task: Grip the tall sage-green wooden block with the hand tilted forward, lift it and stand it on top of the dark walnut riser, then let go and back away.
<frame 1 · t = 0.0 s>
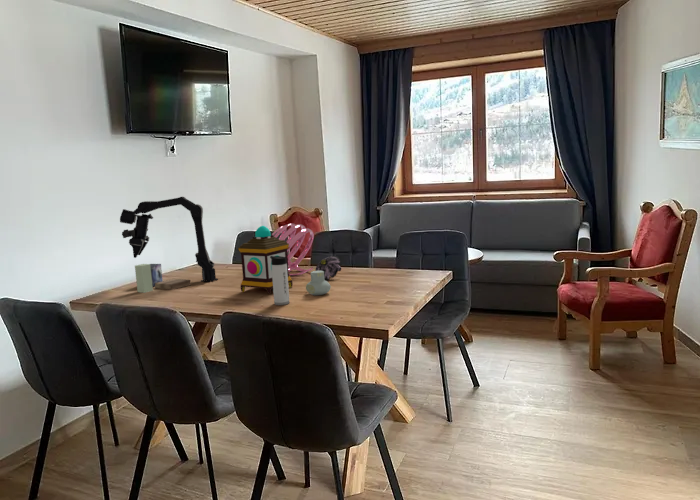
hand: (136, 256, 283), 15 cm above the table, tool pointing down, fingers open, 9 cm apart
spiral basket: (292, 273, 298), on the table
small box: (152, 285, 286), on the table
walnut riser: (173, 286, 280), on the table
decorative lantern: (267, 290, 260), on the table
air freshener: (318, 294, 245), on the table
decorative flower: (328, 278, 281), on the table
sage block: (145, 291, 272), on the table
travel mug: (281, 304, 231), on the table
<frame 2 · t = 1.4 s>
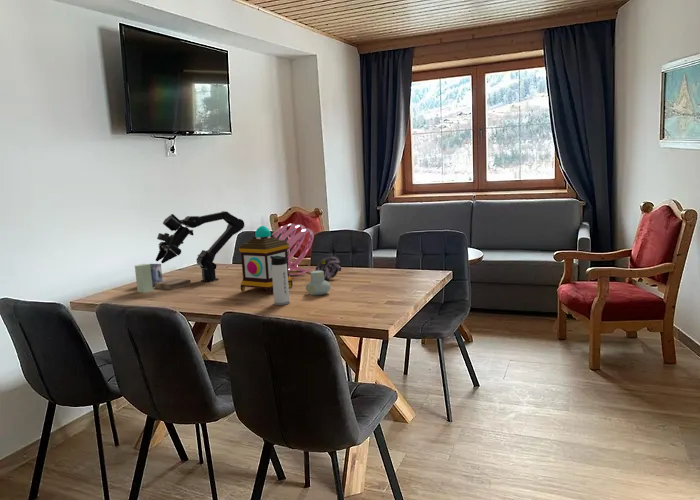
hand: (158, 261, 274), 13 cm above the table, tool tilted 45°, fingers open, 9 cm apart
nothing on the table moved.
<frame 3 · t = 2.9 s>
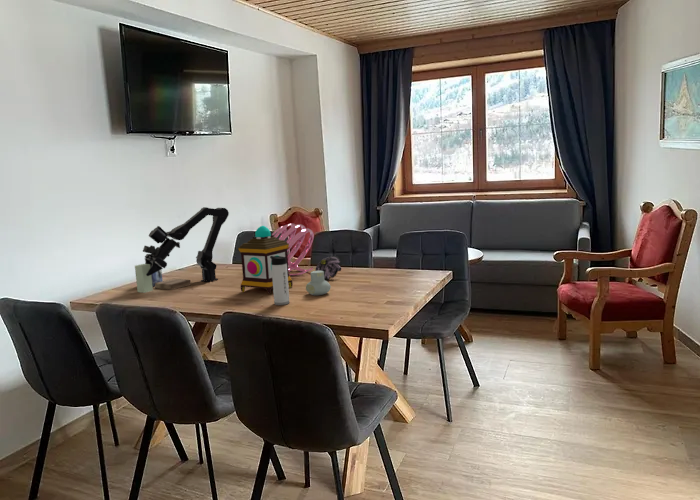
hand: (144, 274, 271), 8 cm above the table, tool tilted 45°, fingers open, 9 cm apart
small box: (152, 285, 286), on the table, touching gripper
everything else where it was.
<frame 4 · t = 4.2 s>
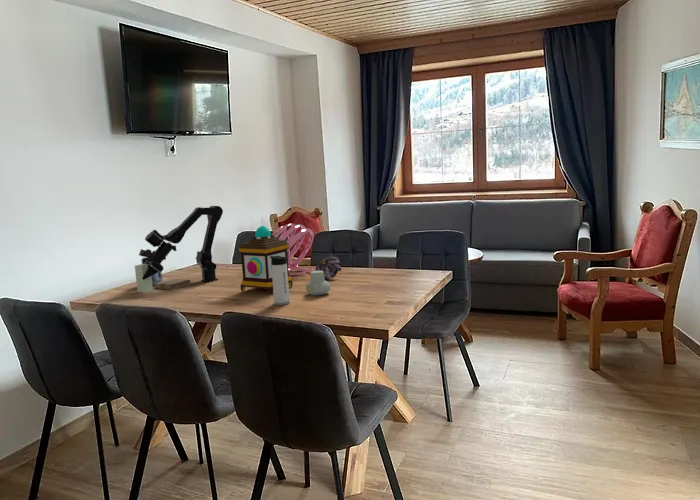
hand: (140, 278, 270), 7 cm above the table, tool tilted 45°, fingers closed on sage block, 6 cm apart
small box: (152, 285, 286), on the table
sage block: (145, 291, 272), on the table, touching gripper
everything else where it was.
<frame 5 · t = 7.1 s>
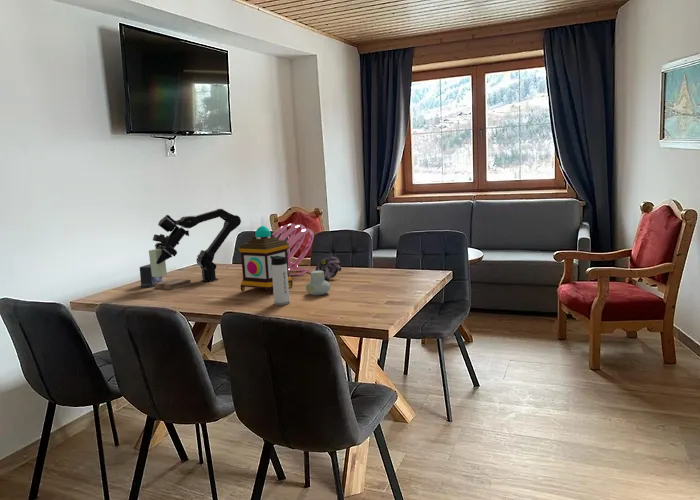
hand: (155, 263, 273), 13 cm above the table, tool tilted 45°, fingers closed on sage block, 6 cm apart
sage block: (159, 275, 275), point 6 cm above the table, touching gripper
everything else where it was.
when the fingers open (10 cm above the table, at t = 9.8 s): sage block stays where it is, resting on walnut riser.
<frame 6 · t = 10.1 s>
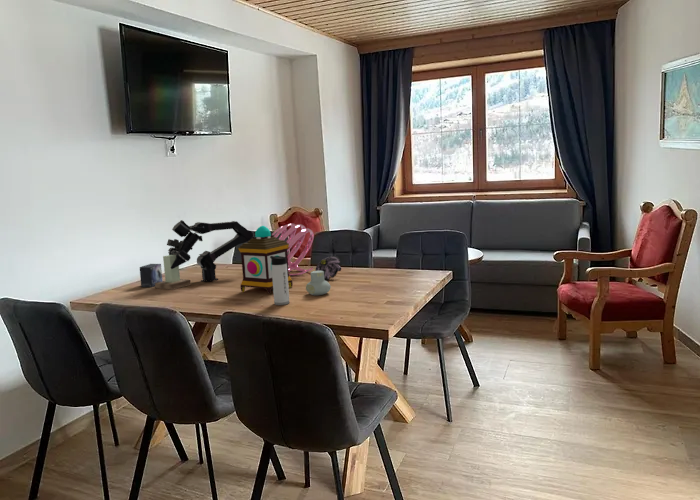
hand: (168, 267, 278), 10 cm above the table, tool tilted 45°, fingers open, 9 cm apart
sage block: (172, 281, 280), point 3 cm above the table, touching walnut riser
everything else where it was.
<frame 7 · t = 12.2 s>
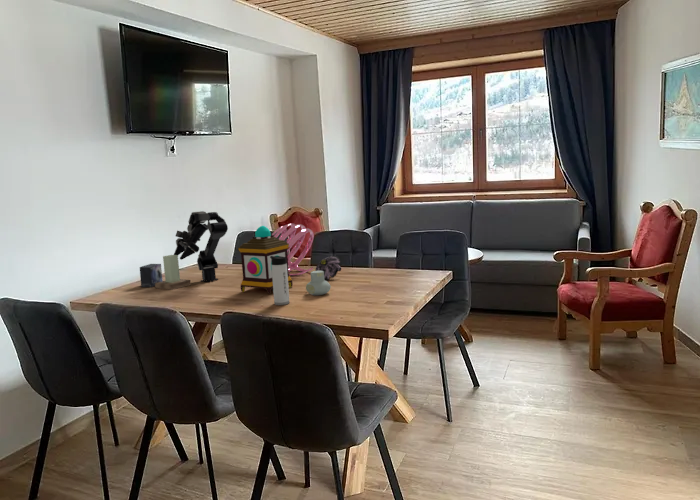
hand: (177, 257, 287), 13 cm above the table, tool tilted 45°, fingers open, 9 cm apart
nothing on the table moved.
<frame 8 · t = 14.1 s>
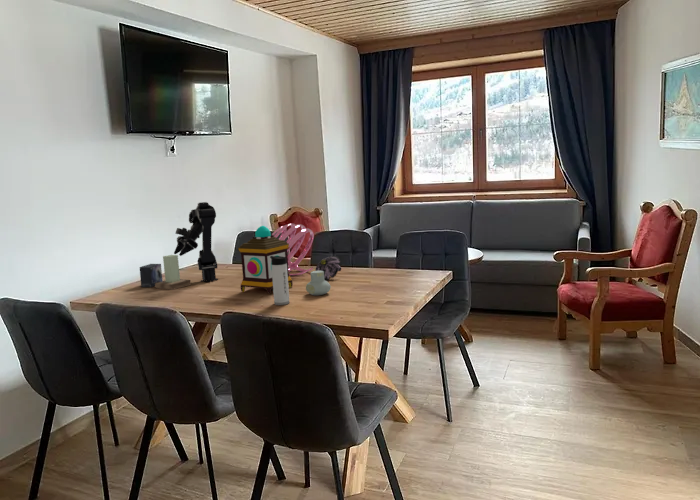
hand: (177, 254, 295), 14 cm above the table, tool tilted 45°, fingers open, 9 cm apart
nothing on the table moved.
at the end: sage block inside the target area on the walnut riser (0.1 cm from its centre), point 2.5 cm above the walnut riser's base; sage block tilted 0°; the gripper is holding nothing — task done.
